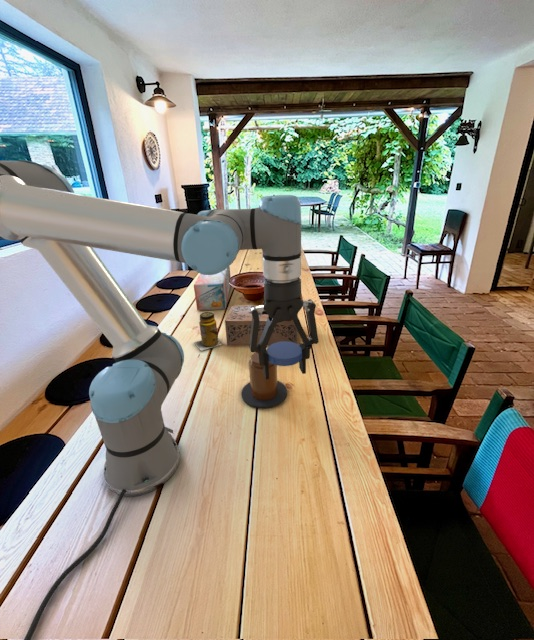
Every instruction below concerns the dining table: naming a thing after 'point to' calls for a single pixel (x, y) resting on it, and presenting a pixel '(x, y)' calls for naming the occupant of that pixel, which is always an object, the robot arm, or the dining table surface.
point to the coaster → (264, 403)
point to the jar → (262, 379)
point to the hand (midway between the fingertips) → (284, 373)
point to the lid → (284, 353)
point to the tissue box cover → (241, 327)
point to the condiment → (208, 331)
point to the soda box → (212, 290)
